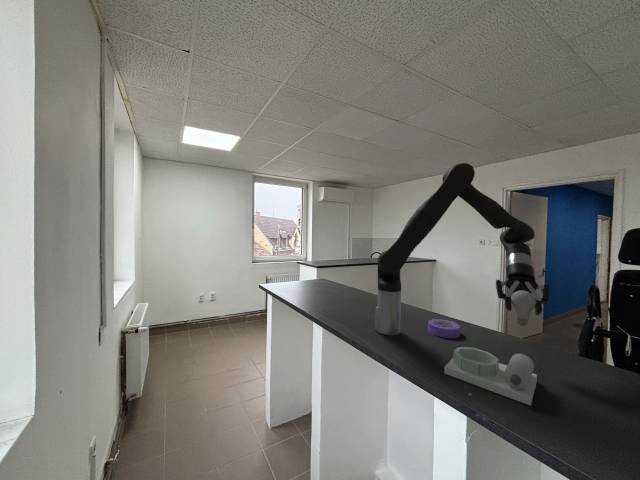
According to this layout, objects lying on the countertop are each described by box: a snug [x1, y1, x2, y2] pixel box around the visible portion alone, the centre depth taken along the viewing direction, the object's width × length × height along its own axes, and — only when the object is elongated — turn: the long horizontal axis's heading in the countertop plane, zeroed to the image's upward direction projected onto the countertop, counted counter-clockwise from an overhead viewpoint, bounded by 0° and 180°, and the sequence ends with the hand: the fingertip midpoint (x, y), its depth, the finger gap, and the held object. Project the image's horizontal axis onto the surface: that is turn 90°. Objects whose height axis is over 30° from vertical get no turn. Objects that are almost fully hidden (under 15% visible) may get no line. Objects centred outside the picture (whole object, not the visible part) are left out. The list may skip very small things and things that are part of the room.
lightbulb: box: [511, 291, 536, 327], centre depth 78 cm, size 6×6×11 cm
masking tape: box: [427, 318, 461, 339], centre depth 103 cm, size 12×12×4 cm
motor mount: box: [443, 346, 538, 407], centre depth 70 cm, size 19×14×7 cm
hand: (523, 311), depth 77 cm, fingers closed on lightbulb, 6 cm apart
